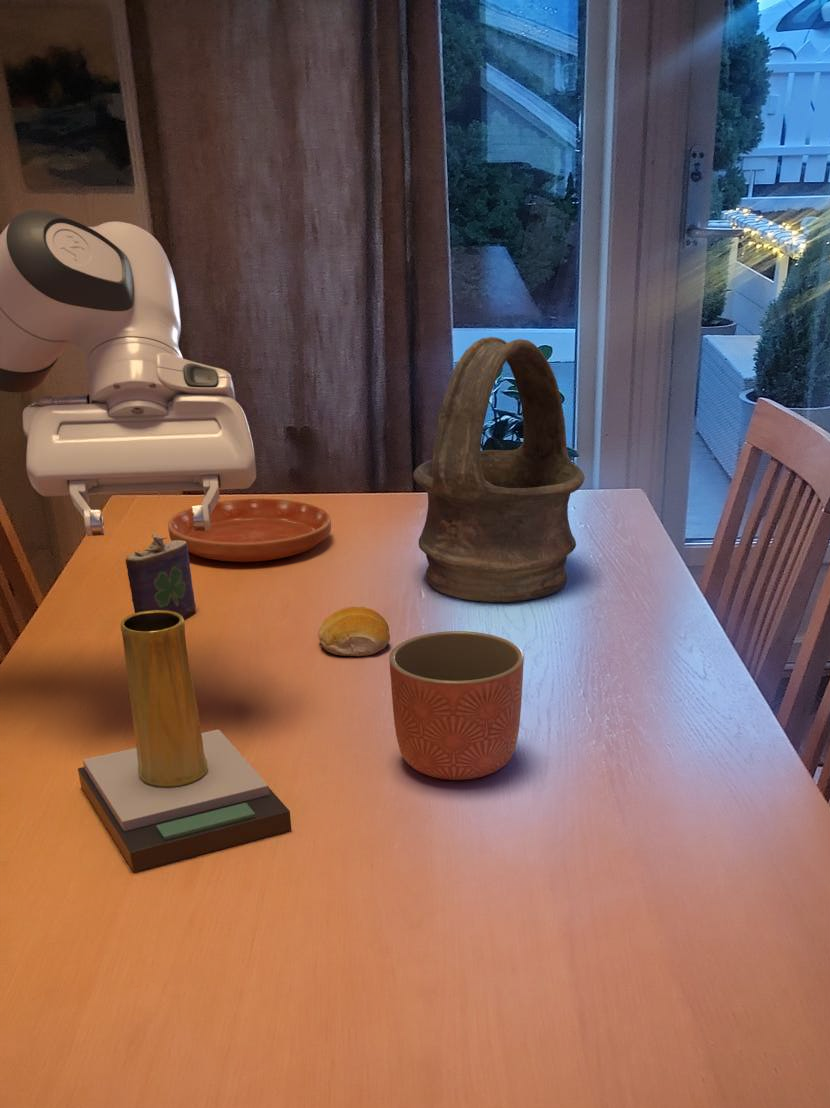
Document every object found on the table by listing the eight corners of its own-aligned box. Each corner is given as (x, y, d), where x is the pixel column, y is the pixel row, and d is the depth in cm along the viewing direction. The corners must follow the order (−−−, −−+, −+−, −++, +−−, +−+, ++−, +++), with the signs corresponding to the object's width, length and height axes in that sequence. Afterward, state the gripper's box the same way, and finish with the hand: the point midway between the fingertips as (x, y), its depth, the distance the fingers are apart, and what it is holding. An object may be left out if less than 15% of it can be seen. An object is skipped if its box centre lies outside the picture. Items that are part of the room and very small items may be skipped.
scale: (133, 872, 101) (128, 841, 100) (81, 787, 114) (75, 758, 112) (291, 830, 107) (289, 800, 105) (225, 753, 120) (222, 725, 118)
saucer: (201, 517, 187) (199, 493, 185) (348, 524, 184) (347, 499, 182) (146, 565, 168) (143, 539, 166) (309, 573, 165) (307, 546, 163)
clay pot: (615, 585, 161) (631, 341, 146) (469, 621, 150) (469, 361, 135) (518, 542, 177) (522, 318, 161) (378, 571, 166) (368, 333, 150)
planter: (420, 802, 111) (418, 691, 106) (375, 746, 121) (370, 641, 115) (543, 776, 116) (546, 669, 110) (490, 724, 125) (490, 623, 120)
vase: (159, 795, 106) (136, 639, 99) (126, 770, 110) (101, 619, 103) (221, 773, 110) (202, 622, 102) (186, 750, 114) (166, 602, 106)
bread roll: (387, 628, 148) (386, 596, 146) (391, 656, 141) (390, 623, 138) (318, 630, 147) (316, 598, 145) (319, 659, 140) (316, 626, 138)
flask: (186, 607, 154) (175, 523, 148) (203, 612, 152) (193, 527, 147) (131, 630, 147) (117, 543, 142) (149, 635, 146) (136, 547, 140)
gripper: (13, 376, 109) (21, 518, 106) (247, 371, 112) (260, 507, 109) (28, 418, 115) (35, 552, 112) (249, 411, 118) (262, 542, 115)
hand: (148, 530), depth 111 cm, fingers open, 8 cm apart
